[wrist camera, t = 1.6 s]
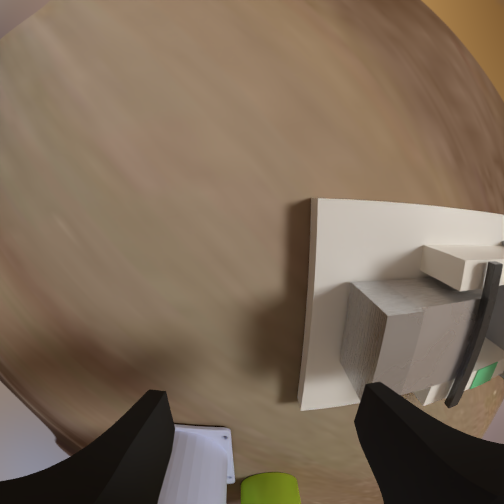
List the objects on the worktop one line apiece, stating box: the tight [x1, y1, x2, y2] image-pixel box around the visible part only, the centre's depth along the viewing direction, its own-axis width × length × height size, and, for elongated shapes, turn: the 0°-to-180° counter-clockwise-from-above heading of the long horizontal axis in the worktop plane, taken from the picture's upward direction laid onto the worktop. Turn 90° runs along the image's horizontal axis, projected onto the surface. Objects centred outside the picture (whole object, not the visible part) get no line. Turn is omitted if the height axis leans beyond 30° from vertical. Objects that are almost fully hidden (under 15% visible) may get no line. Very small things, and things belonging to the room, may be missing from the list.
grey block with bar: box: [340, 261, 503, 408], centre depth 13 cm, size 8×9×5 cm
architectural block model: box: [297, 198, 504, 411], centre depth 12 cm, size 20×14×10 cm
